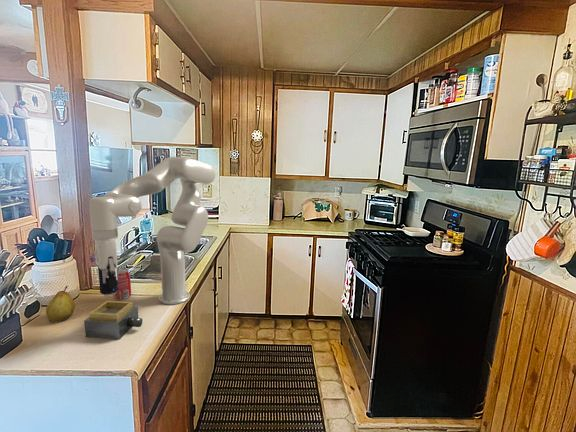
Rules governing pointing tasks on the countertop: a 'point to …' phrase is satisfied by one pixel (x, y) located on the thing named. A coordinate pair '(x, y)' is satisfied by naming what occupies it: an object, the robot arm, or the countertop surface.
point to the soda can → (123, 285)
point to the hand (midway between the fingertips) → (109, 284)
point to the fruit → (60, 306)
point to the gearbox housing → (112, 320)
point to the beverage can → (103, 284)
